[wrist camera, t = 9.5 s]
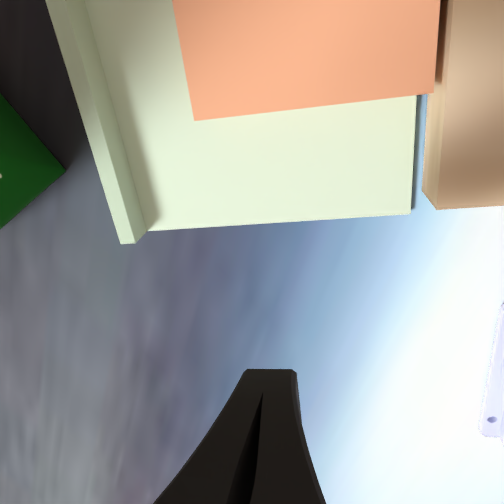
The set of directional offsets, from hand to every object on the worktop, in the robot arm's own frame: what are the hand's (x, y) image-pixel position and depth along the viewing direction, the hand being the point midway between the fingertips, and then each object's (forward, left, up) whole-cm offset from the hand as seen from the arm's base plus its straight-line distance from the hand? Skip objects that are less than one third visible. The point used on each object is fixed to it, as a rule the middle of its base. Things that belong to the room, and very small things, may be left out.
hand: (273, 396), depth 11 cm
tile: (+9, -1, -10) cm, 14 cm away
